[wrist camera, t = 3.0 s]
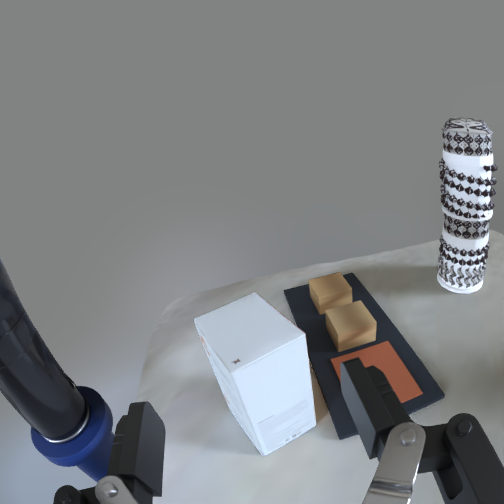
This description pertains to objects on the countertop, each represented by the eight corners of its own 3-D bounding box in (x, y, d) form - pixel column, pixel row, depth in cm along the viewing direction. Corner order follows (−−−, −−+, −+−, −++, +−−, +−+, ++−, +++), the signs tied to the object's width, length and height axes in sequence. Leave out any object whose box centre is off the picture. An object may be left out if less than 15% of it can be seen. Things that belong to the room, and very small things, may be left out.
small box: (317, 426, 27) (308, 333, 21) (263, 458, 25) (229, 375, 19) (276, 381, 34) (254, 289, 28) (227, 407, 31) (190, 318, 26)
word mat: (339, 440, 25) (339, 436, 24) (284, 292, 50) (283, 289, 50) (443, 397, 25) (445, 393, 25) (352, 275, 50) (352, 271, 50)
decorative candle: (473, 262, 44) (478, 117, 34) (492, 291, 36) (507, 123, 26) (429, 266, 47) (427, 116, 36) (443, 297, 39) (449, 121, 28)
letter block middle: (338, 352, 35) (337, 334, 34) (326, 327, 40) (324, 310, 38) (375, 340, 35) (376, 322, 34) (360, 317, 40) (360, 299, 38)
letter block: (319, 315, 42) (318, 297, 41) (310, 296, 47) (308, 279, 46) (352, 305, 42) (352, 288, 41) (340, 288, 47) (339, 271, 46)
